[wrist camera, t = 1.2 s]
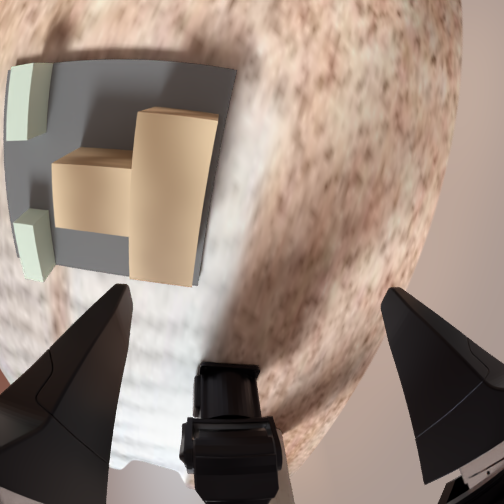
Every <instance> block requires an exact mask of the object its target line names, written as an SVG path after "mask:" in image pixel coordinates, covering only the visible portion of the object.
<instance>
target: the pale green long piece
mask: <svg viewBox="0 0 504 504" xmlns="http://www.w3.org/2000/svg"><path fill="white" fill-rule="evenodd" d="M52 68H53V63H29V64H24V65H18V66H13V67H11V73H10V81H9V91H8V103H7V122H6V141H20V140H29V139H31V138H34V137H36V136H39V135H41V134H44V133H46V128H47V111H48V100H49V90H50V82H51V74H52ZM13 225H14V231H15V236H16V242H17V246H18V251H19V256H20V260H21V264H22V268H23V272H24V276H25V279H30V280H34V281H39V282H44V281H45V280H46V278H47V277H48V275H49V274H50V272H51V271H52V270H53V268H54V267H55V265H56V262H55V256H54V250H53V244H52V237H51V229H50V220H49V210H41V209H32V208H29V209H28V210H27V211H26V212H25V213H23V214H22V215H21V216H20V217H19V218H18V219H17V220H16V221H14V222H13Z"/></svg>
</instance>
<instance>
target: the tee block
mask: <svg viewBox="0 0 504 504" xmlns="http://www.w3.org/2000/svg"><path fill="white" fill-rule="evenodd" d="M218 117H219V114H213V113H207V112H200V111H192V110H184V109H175V108H165V107H152V108H149V109H145V110H142V111H139V112H138V113H137V120H136V128H135V137H134V147H133V151H131V150H119V149H105V148H88V147H80V148H78V149H76V150H74V151H72V152H71V153H69V154H67V155H65V156H63V157H62V158H60V159H58V160H56V161H55V162H53V163H52V192H53V207H54V218H55V227H58V228H66V229H73V230H80V231H88V232H95V233H103V234H110V235H118V236H125V237H129V276H130V279H134V280H141V281H148V282H155V283H162V284H170V285H177V286H185V287H192V281H193V273H194V265H195V258H196V250H197V243H198V236H199V229H200V222H201V215H202V209H203V202H204V196H205V190H206V184H207V178H208V172H209V167H210V161H211V156H212V150H213V145H214V140H215V134H216V129H217V124H218Z"/></svg>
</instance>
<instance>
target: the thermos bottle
mask: <svg viewBox="0 0 504 504" xmlns="http://www.w3.org/2000/svg"><path fill="white" fill-rule="evenodd" d="M276 430H277V433H278V437H279V440H280V444H281V448H282V457H283V463H282V469H281V470H280V471H278V483H279V490H278V492H277V494H276V496H275V498H272V499H271V501H270V502H269V504H295V503H294V498H293V492H292V487H291V483H290V478H289V472H288V465H287V459H286V454H285V448H284V443H283V437H282V432H281V431H280V430H279V429H277V428H276Z"/></svg>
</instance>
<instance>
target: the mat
mask: <svg viewBox="0 0 504 504" xmlns="http://www.w3.org/2000/svg"><path fill="white" fill-rule="evenodd" d="M236 72H237V70H234V69H228V68H222V67H216V66H209V65H201V64H193V63H183V62H173V61H159V60H136V59H104V60H82V61H69V62H59V63H53V68H52V74H51V82H50V90H49V100H48V111H47V128H46V133H44V134H41V135H39V136H36V137H34V138H31V139H29V140H20V141H6V122H7V103H8V91H9V81H10V73H11V70H8V76H7V84H6V94H5V108H4V167H5V181H6V191H7V200H8V208H9V215H10V221H11V227H12V233H13V238H14V243H15V248H16V253H17V257H18V258H20V256H19V251H18V246H17V242H16V236H15V231H14V225H13V222H14V221H16V220H17V219H18V218H19V217H20V216H21V215H22V214H23V213H25V212H26V211H27V210H28V209H29V208H32V209H41V210H49V220H50V229H51V237H52V244H53V250H54V256H55V262H56V265H61V266H67V267H72V268H78V269H84V270H90V271H96V272H103V273H109V274H115V275H122V276H129V237H125V236H118V235H110V234H103V233H95V232H88V231H80V230H73V229H66V228H58V227H55V218H54V207H53V192H52V163H53V162H55V161H56V160H58V159H60V158H62V157H63V156H65V155H67V154H69V153H71V152H72V151H74V150H76V149H78V148H80V147H88V148H105V149H119V150H131V151H133V147H134V137H135V128H136V120H137V113H138V112H139V111H142V110H145V109H149V108H152V107H165V108H175V109H184V110H192V111H200V112H207V113H213V114H219V117H218V124H217V129H216V134H215V140H214V145H213V150H212V156H211V161H210V167H209V172H208V178H207V184H206V190H205V196H204V202H203V209H202V215H201V222H200V229H199V236H198V243H197V250H196V258H195V265H194V273H193V281H192V285H195V286H198V281H199V273H200V266H201V259H202V252H203V246H204V239H205V233H206V226H207V220H208V214H209V208H210V202H211V196H212V190H213V185H214V179H215V174H216V168H217V163H218V158H219V152H220V147H221V142H222V137H223V132H224V127H225V122H226V118H227V113H228V108H229V103H230V99H231V94H232V90H233V85H234V81H235V77H236ZM129 277H130V276H129Z"/></svg>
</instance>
